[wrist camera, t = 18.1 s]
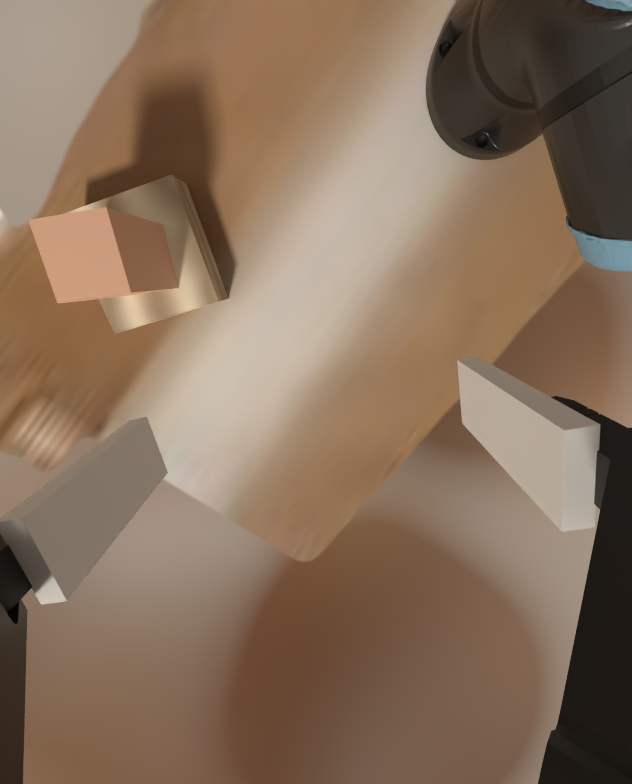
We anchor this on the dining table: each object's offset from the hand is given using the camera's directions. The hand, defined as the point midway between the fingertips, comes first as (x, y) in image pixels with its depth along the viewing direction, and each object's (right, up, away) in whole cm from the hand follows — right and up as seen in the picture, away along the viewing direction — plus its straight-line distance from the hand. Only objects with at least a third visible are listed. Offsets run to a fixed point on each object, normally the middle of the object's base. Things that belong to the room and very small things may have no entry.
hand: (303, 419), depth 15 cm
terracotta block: (-20, +16, +27) cm, 37 cm away
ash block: (-20, +18, +31) cm, 41 cm away
